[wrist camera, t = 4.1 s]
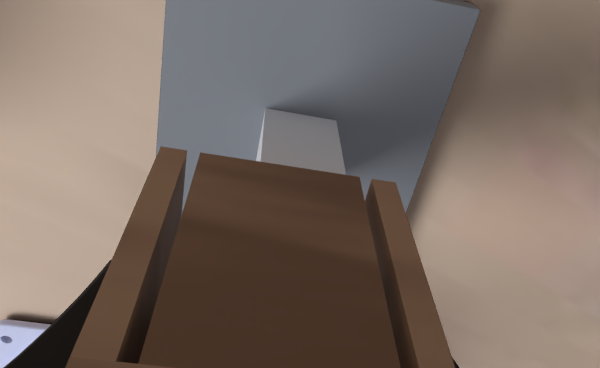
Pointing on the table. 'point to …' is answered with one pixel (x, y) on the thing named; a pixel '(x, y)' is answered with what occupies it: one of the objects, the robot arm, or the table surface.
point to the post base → (311, 82)
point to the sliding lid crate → (263, 274)
